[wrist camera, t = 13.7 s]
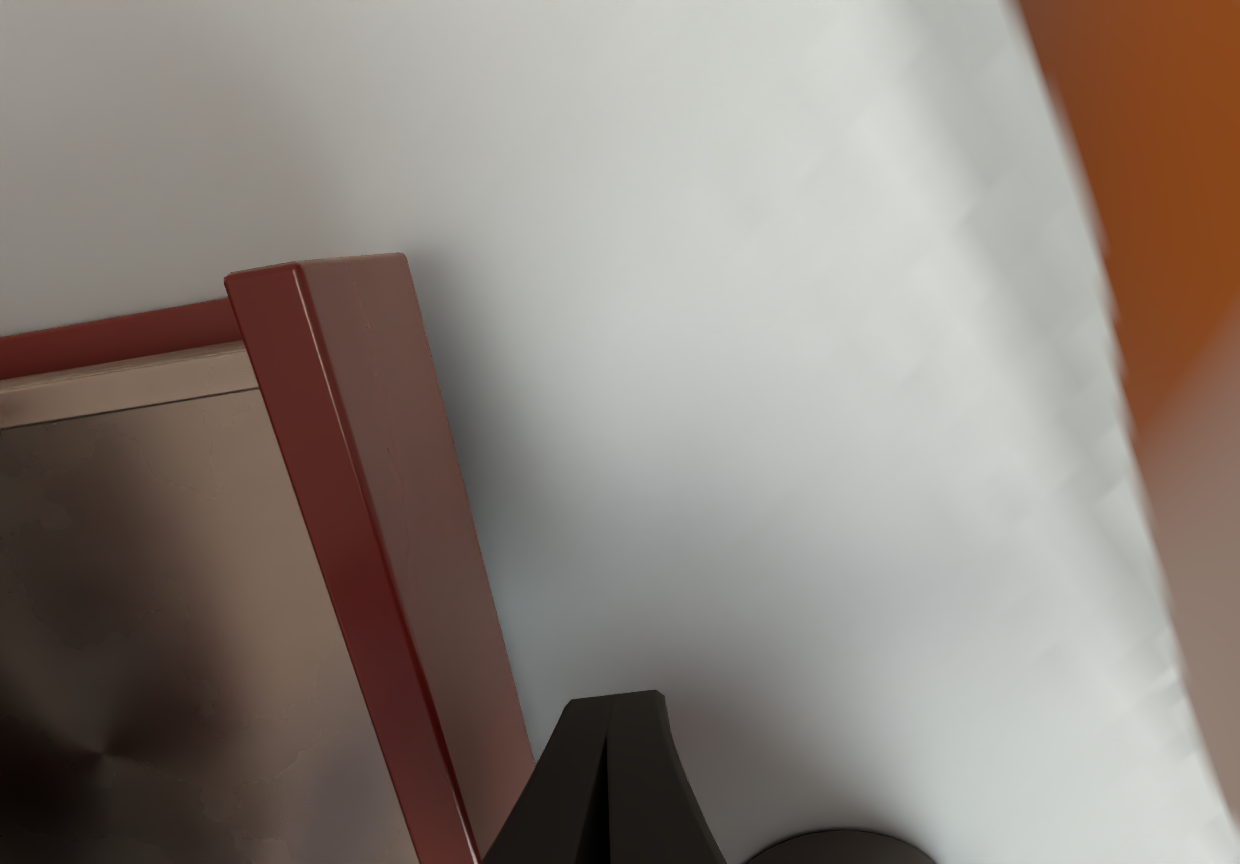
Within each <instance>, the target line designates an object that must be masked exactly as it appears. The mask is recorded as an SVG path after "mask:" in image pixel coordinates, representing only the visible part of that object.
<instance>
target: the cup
mask: <svg viewBox="0 0 1240 864" xmlns="http://www.w3.org/2000/svg"><path fill="white" fill-rule="evenodd" d="M748 864H935V863H934V862H933V861H932V860H931V859H930V858H929V857H927V856H926V855H924V854H923V853H922V852H920V851H919V850H917V849H915V848H914V847H912V846H910V845H908V844H906V843H904V842H901V841H899V840H896V839H894V838H891V837H887V836H883V835H879V834H875V833H869V832H862V831H845V830H843V831H826V832H820V833H813V834H808V835H805V836H801V837H797V838H794V839H791V840H788V841H786V842H783V843H780V844H778V845H776V846H774V847H772V848H770V849H768V850H766V851H765V852H763V853H762V854H760V855H758V856H757V857H755V858H754V859H753V860H751V861H750V862H749V863H748Z"/></svg>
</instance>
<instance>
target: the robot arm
mask: <svg viewBox="0 0 1240 864" xmlns="http://www.w3.org/2000/svg"><path fill="white" fill-rule="evenodd" d="M480 864H727V863H726V861H725V859H724V857H723V855H722V853H721V851H720V850H719V848H718V846H717V844H716V842H715V839H714V837H713V835H712V833H711V831H710V829H709V827H708V825H707V823H706V821H705V818H704V816H703V814H702V812H701V809H700V807H699V805H698V803H697V800H696V798H695V796H694V793H693V791H692V789H691V787H690V784H689V782H688V780H687V777H686V775H685V772H684V769H683V767H682V764H681V762H680V759H679V756H678V753H677V750H676V747H675V744H674V741H673V738H672V734H671V730H670V724H669V719H668V713H667V707H666V701H665V696H664V695H663V694H662V693H660V692H659V691H657V690H656V689H655V690H646V691H638V692H630V693H622V694H613V695H605V696H597V697H589V698H580V699H572V700H570V701H569V703H568V704H567V705H566V706H565V707H564V710H563V712H562V714H561V716H560V718H559V721H558V723H557V725H556V727H555V729H554V731H553V733H552V735H551V737H550V739H549V741H548V743H547V745H546V747H545V749H544V751H543V753H542V755H541V757H540V759H539V761H538V763H537V765H536V767H535V769H534V771H533V773H532V775H531V776H530V778H529V780H528V782H527V784H526V786H525V787H524V789H523V791H522V793H521V795H520V796H519V798H518V800H517V802H516V804H515V805H514V807H513V809H512V811H511V812H510V814H509V816H508V818H507V820H506V821H505V823H504V825H503V827H502V828H501V830H500V832H499V834H498V835H497V837H496V839H495V840H494V842H493V844H492V845H491V847H490V848H489V850H488V852H487V853H486V855H485V856H484V858H483V860H482V861H481V863H480Z"/></svg>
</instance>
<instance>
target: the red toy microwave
mask: <svg viewBox="0 0 1240 864" xmlns="http://www.w3.org/2000/svg"><path fill="white" fill-rule="evenodd" d="M238 340H243V339H242V336H241V333H240V330H239V327H238V324H237V321H236V318H235V315H234V312H233V309H232V306H231V303H230V300H229V298H225V299H219V300H213V301H207V302H201V303H196V304H190V305H184V306H178V307H173V308H167V309H161V310H155V311H150V312H144V313H138V314H132V315H127V316H121V317H115V318H109V319H104V320H98V321H92V322H86V323H80V324H75V325H69V326H63V327H57V328H52V329H46V330H40V331H34V332H29V333H23V334H17V335H11V336H6V337H0V380H6V379H12V378H18V377H24V376H30V375H36V374H42V373H47V372H53V371H59V370H65V369H71V368H77V367H83V366H89V365H95V364H101V363H107V362H113V361H119V360H125V359H131V358H137V357H142V356H148V355H154V354H160V353H166V352H172V351H178V350H184V349H190V348H196V347H202V346H208V345H214V344H220V343H226V342H232V341H238Z"/></svg>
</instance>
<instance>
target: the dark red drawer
mask: <svg viewBox="0 0 1240 864" xmlns="http://www.w3.org/2000/svg"><path fill="white" fill-rule="evenodd" d="M224 285H225V288H226V291H227V294H228V297H229V300H230V303H231V306H232V309H233V312H234V315H235V318H236V321H237V324H238V327H239V330H240V333H241V336H242V339H243V340H238V341H232V342H226V343H220V344H214V345H208V346H202V347H196V348H190V349H184V350H178V351H172V352H166V353H160V354H154V355H148V356H142V357H137V358H131V359H125V360H119V361H113V362H107V363H101V364H95V365H89V366H83V367H77V368H71V369H65V370H59V371H53V372H47V373H42V374H36V375H30V376H24V377H18V378H12V379H6V380H0V864H480V863H481V861H482V860H483V858H484V856H485V855H486V853H487V852H488V850H489V848H490V847H491V845H492V844H493V842H494V840H495V839H496V837H497V835H498V834H499V832H500V830H501V828H502V827H503V825H504V823H505V821H506V820H507V818H508V816H509V814H510V812H511V811H512V809H513V807H514V805H515V804H516V802H517V800H518V798H519V796H520V795H521V793H522V791H523V789H524V787H525V786H526V784H527V782H528V780H529V778H530V776H531V775H532V773H533V771H534V769H535V763H534V759H533V755H532V751H531V748H530V744H529V740H528V736H527V732H526V728H525V724H524V720H523V716H522V712H521V708H520V704H519V700H518V696H517V692H516V688H515V684H514V680H513V676H512V672H511V669H510V665H509V661H508V657H507V653H506V649H505V645H504V641H503V637H502V633H501V629H500V625H499V621H498V617H497V613H496V609H495V605H494V601H493V597H492V593H491V590H490V586H489V582H488V578H487V574H486V570H485V566H484V562H483V558H482V554H481V550H480V546H479V542H478V538H477V534H476V530H475V526H474V522H473V518H472V514H471V511H470V507H469V503H468V499H467V495H466V491H465V487H464V483H463V479H462V475H461V471H460V467H459V463H458V459H457V455H456V451H455V447H454V443H453V439H452V435H451V432H450V428H449V424H448V420H447V416H446V412H445V408H444V404H443V400H442V396H441V392H440V388H439V384H438V380H437V376H436V372H435V368H434V364H433V360H432V356H431V353H430V349H429V345H428V341H427V337H426V333H425V329H424V325H423V321H422V317H421V313H420V309H419V305H418V301H417V297H416V293H415V289H414V285H413V281H412V277H411V274H410V270H409V266H408V262H407V258H406V256H405V255H404V253H399V252H396V253H384V254H373V255H362V256H350V257H339V258H327V259H316V260H304V261H293V262H287V263H282V264H276V265H270V266H265V267H259V268H253V269H248V270H242V271H236V272H231V273H230V274H228V275H227V276H226V277H224Z"/></svg>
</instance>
